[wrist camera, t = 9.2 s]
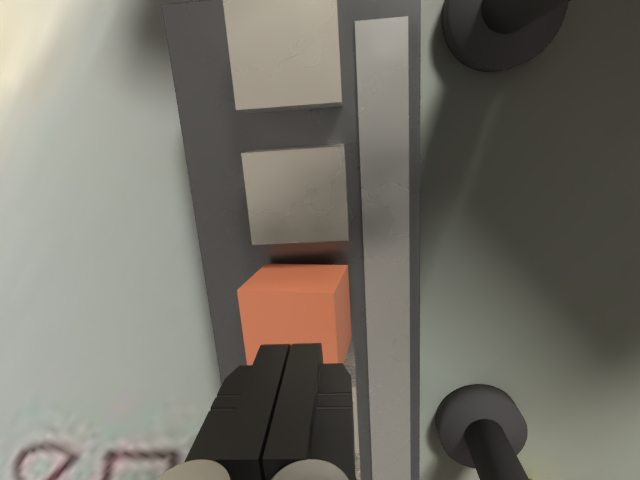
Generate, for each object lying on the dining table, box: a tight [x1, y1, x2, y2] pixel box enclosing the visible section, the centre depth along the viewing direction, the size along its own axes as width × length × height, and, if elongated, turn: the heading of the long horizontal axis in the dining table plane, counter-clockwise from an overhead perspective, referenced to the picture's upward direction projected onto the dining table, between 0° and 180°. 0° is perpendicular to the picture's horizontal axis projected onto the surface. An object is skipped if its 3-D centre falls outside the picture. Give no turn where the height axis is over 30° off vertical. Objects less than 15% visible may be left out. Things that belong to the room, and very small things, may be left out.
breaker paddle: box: [237, 264, 352, 365], centre depth 13 cm, size 3×3×2 cm
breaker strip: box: [162, 0, 421, 480], centre depth 16 cm, size 8×20×7 cm, turn 4°
